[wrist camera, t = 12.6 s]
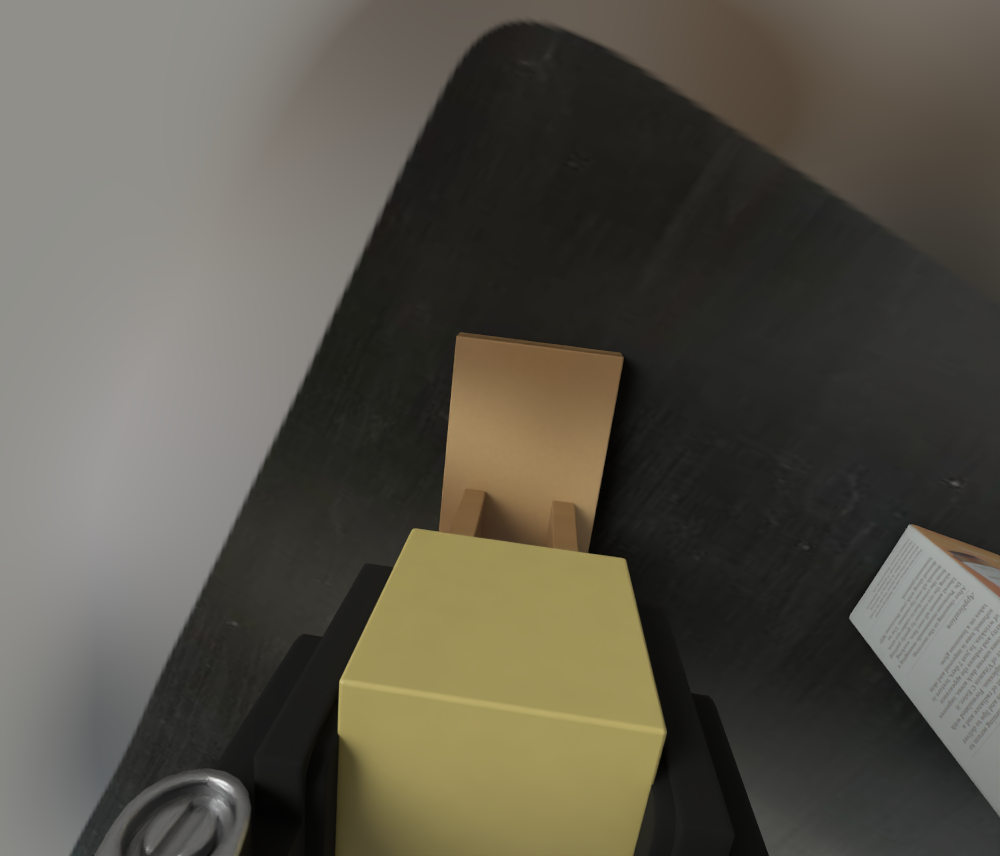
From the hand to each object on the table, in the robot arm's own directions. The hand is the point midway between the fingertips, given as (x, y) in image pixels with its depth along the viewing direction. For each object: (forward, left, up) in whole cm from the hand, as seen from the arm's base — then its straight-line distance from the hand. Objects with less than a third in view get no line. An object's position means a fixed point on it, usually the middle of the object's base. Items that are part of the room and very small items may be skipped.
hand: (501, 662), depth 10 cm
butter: (0, 0, 0) cm, 0 cm away
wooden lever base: (+6, +2, -17) cm, 18 cm away
